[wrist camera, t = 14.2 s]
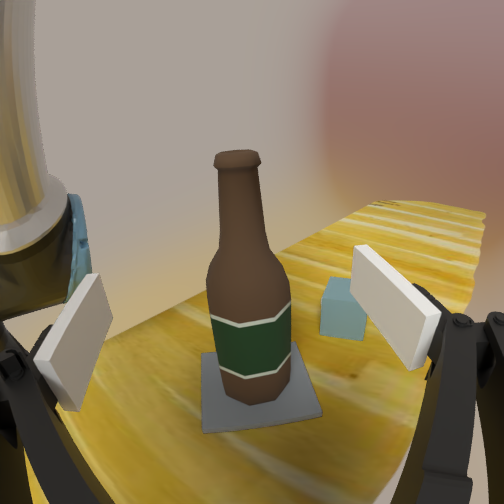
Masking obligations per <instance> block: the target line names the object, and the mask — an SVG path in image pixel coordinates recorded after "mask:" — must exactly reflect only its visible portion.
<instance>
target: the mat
mask: <svg viewBox="0 0 504 504" xmlns="http://www.w3.org/2000/svg"><path fill="white" fill-rule="evenodd" d="M201 404H202V431H203V433H216V432H227V431H237V430H246V429H253V428H261V427H268V426H274V425H280V424H286V423H292V422H297V421H302V420H307V419H312V418H317V417H321V416H322V410H321V407H320V404H319V402H318V399H317V396H316V394H315V391H314V389H313V386H312V383H311V381H310V378H309V376H308V373H307V370H306V368H305V365H304V363H303V360H302V357H301V355H300V352H299V350H298V347H297V344H296V342H291V372H290V381H289V383H288V384H287V386H286V387H285V388H284V390H283V391H282V392H281V394H280V395H279V396H278V398H277V399H276V400H275V401H270V402H266V403H261V404H256V405H251V406H249V405H246V404H244V403H242V402H240V401H237V400H235V399H233V398H231V397H229V396H227V395H226V394H225V390H224V387H223V383H222V378H221V373H220V368H219V363H218V358H217V352H210V353H201Z"/></svg>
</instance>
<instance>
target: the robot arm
mask: <svg viewBox="0 0 504 504" xmlns="http://www.w3.org/2000/svg"><path fill="white" fill-rule="evenodd" d="M35 2H36V0H0V504H33V502H32V497H31V492H30V487H29V482H28V476H27V470H26V463H25V455H24V448H25V451H26V454H27V456H28V459H29V461H30V464H31V466H32V468H33V471H34V473H35V475H36V477H37V479H38V482H39V484H40V486H41V488H42V490H43V492H44V494H45V496H46V498H47V500H48V502H49V504H115V503H114V501H113V500H112V499H111V497H110V496H109V495H108V493H107V492H106V490H105V489H104V488H103V486H102V485H101V483H100V482H99V481H98V479H97V478H96V476H95V475H94V473H93V472H92V470H91V469H90V467H89V466H88V464H87V462H86V461H85V459H84V458H83V456H82V454H81V453H80V451H79V449H78V448H77V446H76V444H75V443H74V441H73V439H72V437H71V436H70V434H69V432H68V430H67V428H66V427H65V425H64V423H63V421H62V419H61V417H60V415H59V413H58V412H57V410H56V409H55V407H56V404H57V401H58V402H59V404H60V405H61V407H62V408H63V410H65V411H76V412H80V409H81V405H82V402H83V399H84V396H85V393H86V390H87V387H88V384H89V381H90V378H91V375H92V372H93V369H94V367H95V364H96V361H97V358H98V356H99V353H100V350H101V347H102V345H103V342H104V340H105V337H106V334H107V332H108V329H109V327H110V324H111V322H112V319H113V317H112V313H111V310H110V307H109V304H108V301H107V297H106V294H105V291H104V288H103V284H102V281H101V277H100V274H99V273H93V274H92V267H91V257H90V251H89V245H88V243H87V241H88V238H87V229H86V223H85V217H84V211H83V206H82V202H81V199H80V197H79V196H78V195H77V194H69V193H68V194H67V192H66V189H65V187H64V185H63V183H62V182H61V181H60V180H59V179H58V178H56V177H55V176H53V175H50V174H48V171H47V166H46V161H45V155H44V149H43V144H42V137H41V130H40V124H39V116H38V107H37V96H36V84H35V68H34V19H35ZM350 293H351V294H352V295H353V297H354V298H355V299H356V300H357V302H358V303H359V304H360V306H361V307H362V308H363V310H364V311H365V312H366V314H367V315H368V316H369V318H370V319H371V320H372V321H373V323H374V324H375V325H376V327H377V328H378V330H379V331H380V332H381V334H382V335H383V336H384V338H385V339H386V340H387V342H388V343H389V344H390V346H391V347H392V348H393V350H394V351H395V353H396V354H397V355H398V357H399V358H400V360H401V361H402V362H403V364H404V365H405V367H406V368H407V369H408V371H411V370H414V369H417V368H420V367H423V366H424V363H425V360H426V358H427V355H428V357H429V358H430V359H431V360H432V362H431V365H430V367H429V370H428V372H427V375H426V377H425V380H427V384H426V388H425V393H424V398H423V402H422V407H421V411H420V415H419V419H418V423H417V426H416V430H415V434H414V437H413V441H412V444H411V447H410V451H409V454H408V457H407V460H406V463H405V466H404V469H403V472H402V475H401V477H400V480H399V483H398V485H397V488H396V491H395V493H394V496H393V498H392V501H391V503H390V504H469V501H470V497H471V492H472V486H473V482H472V478H469V477H467V469H468V464H469V458H470V451H471V444H472V437H473V428H474V417H475V404H476V401H477V406H478V411H479V417H480V422H481V428H482V434H483V441H484V448H485V456H486V466H487V477H488V490H489V491H488V493H489V504H504V313H501V312H491V313H489V314H488V316H487V319H486V322H481V323H474V321H473V320H472V319H471V318H470V317H468V316H467V315H464V314H461V313H454V314H452V313H450V312H449V311H448V310H447V309H446V308H445V307H444V306H443V305H442V304H441V303H440V302H439V301H438V300H435V298H434V297H433V296H432V295H430V293H429V292H428V291H427V290H426V289H424V288H423V287H421V286H419V285H417V284H415V283H413V284H411V283H410V282H409V281H408V280H406V279H405V278H404V277H403V276H402V275H401V274H400V273H399V272H398V271H396V270H395V269H394V268H393V267H392V266H391V265H390V264H388V263H387V262H386V261H385V260H384V259H383V258H382V257H380V256H379V255H378V254H377V253H376V252H375V251H374V250H372V249H371V248H370V247H369V246H368V245H359V246H354V251H353V263H352V274H351V284H350ZM61 303H63V304H64V303H67V304H66V306H65V307H64V309H63V310H62V312H61V313H60V315H59V317H58V318H57V320H56V321H55V323H54V325H49V326H48V327H47V328H46V329H45V330H44V331H42V333H41V335H40V337H39V338H38V340H37V341H36V343H35V344H34V345H35V346H33V348H32V350H31V351H30V353H29V352H28V351H27V350H25V349H24V348H23V347H22V345H20V343H19V342H18V341H17V340H16V339H15V338H14V337H13V336H12V335H11V334H10V332H9V331H8V330H7V329H6V328H5V326H4V323H3V321H5V320H7V319H11V318H14V317H17V316H21V315H24V314H27V313H31V312H34V311H37V310H41V309H44V308H48V307H51V306H55V305H58V304H61ZM23 446H24V447H23Z"/></svg>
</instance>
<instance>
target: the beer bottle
mask: <svg viewBox="0 0 504 504" xmlns="http://www.w3.org/2000/svg"><path fill="white" fill-rule="evenodd" d="M260 164H261V160H260V158H259V155H258V152H256V151H253V150H233V151H225V152H220V153H218V154H216V156H215V160H214V167H215V168H216V169H218V190H219V216H220V239H219V249H218V251H217V252H216V254H215V256H214V258H213V259H212V261H211V263H210V265H209V269H208V274H207V278H206V286H207V299H208V305H209V312H210V318H211V324H212V330H213V335H214V341H215V347H216V352H217V358H218V363H219V368H220V373H221V378H222V383H223V387H224V390H225V394H226V395H227V396H229V397H231V398H233V399H235V400H237V401H240V402H242V403H244V404H246V405H249V406H251V405H256V404H261V403H266V402H270V401H275V400H276V399H277V398H278V396H279V395H280V394H281V392H282V391H283V390H284V388H285V387H286V386H287V384H288V383H289V381H290V372H291V295H290V285H289V280H288V278H287V276H286V273H285V271H284V268H283V266H282V264H281V263H280V262H279V260H278V259H277V258H276V256H275V255H274V254H273V252H272V251H271V250H270V248H269V244H268V241H267V236H266V232H265V224H264V216H263V209H262V200H261V192H260V184H259V176H258V168H257V167H258V166H259V165H260Z"/></svg>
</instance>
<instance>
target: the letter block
mask: <svg viewBox="0 0 504 504" xmlns="http://www.w3.org/2000/svg"><path fill="white" fill-rule="evenodd" d="M350 284H351V279H347V278H338V277H330V279H329V282H328V284H327V286H326V289H325V291H324V294H323V296H322V299H321V305H322V307H321V324H320V335H324V336H330V337H337V338H344V339H352V340H359V341H363V337H364V331H365V325H366V319H367V314H366V312H365V311H364V310H363V308H362V307H361V306H360V304H359V303H358V302H357V300H356V299H355V298H354V297H353V295H352V294H351V293H350Z"/></svg>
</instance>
